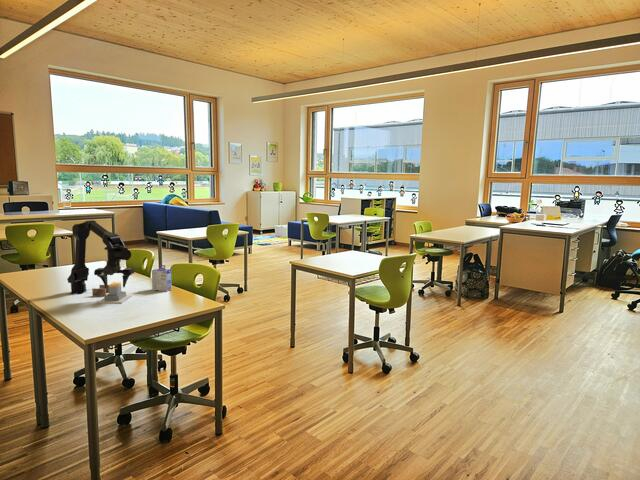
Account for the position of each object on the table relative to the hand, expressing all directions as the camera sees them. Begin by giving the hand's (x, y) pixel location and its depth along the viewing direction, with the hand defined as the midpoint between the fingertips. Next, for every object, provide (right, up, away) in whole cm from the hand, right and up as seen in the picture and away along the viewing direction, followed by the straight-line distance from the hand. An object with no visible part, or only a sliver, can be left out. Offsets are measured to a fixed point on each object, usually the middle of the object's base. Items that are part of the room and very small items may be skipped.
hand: (115, 287), depth 235 cm
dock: (0, -7, +1) cm, 7 cm away
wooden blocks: (-13, -5, +12) cm, 18 cm away
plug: (0, -6, +1) cm, 6 cm away
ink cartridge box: (+17, -4, +23) cm, 29 cm away
